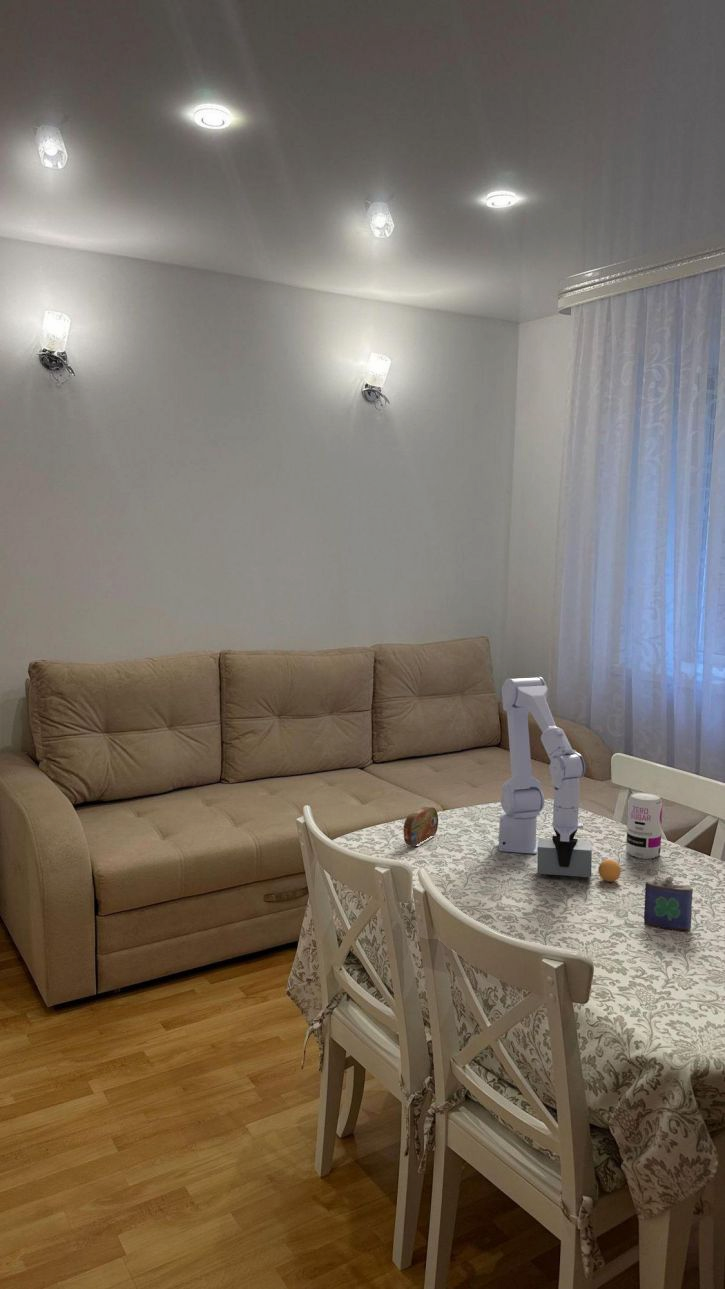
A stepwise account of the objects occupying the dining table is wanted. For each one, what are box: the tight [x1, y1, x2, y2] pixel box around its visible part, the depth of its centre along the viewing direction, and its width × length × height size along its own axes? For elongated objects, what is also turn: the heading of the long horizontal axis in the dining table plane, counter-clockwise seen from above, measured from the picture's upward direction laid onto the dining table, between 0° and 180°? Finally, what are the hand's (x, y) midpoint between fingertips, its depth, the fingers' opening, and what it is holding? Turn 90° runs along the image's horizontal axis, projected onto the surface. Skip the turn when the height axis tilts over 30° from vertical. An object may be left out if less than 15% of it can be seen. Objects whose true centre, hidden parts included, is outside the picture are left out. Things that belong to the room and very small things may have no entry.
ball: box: [597, 859, 622, 883], centre depth 211 cm, size 5×5×5 cm
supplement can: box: [625, 791, 663, 860], centre depth 228 cm, size 8×8×15 cm
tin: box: [403, 806, 439, 847], centre depth 237 cm, size 15×3×8 cm, turn 148°
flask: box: [643, 876, 694, 933], centre depth 186 cm, size 9×3×11 cm, turn 68°
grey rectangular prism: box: [536, 837, 593, 878], centre depth 213 cm, size 12×6×6 cm, turn 77°
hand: (564, 861), depth 213 cm, fingers closed on grey rectangular prism, 6 cm apart
